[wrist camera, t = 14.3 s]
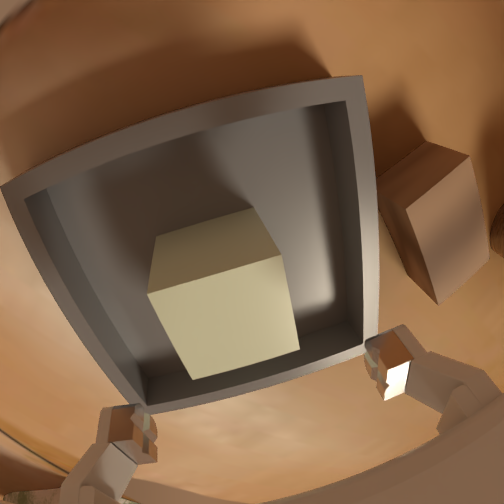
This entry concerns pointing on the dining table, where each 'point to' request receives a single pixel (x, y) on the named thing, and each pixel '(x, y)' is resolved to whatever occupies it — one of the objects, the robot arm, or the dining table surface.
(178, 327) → the sage cube
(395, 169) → the walnut block
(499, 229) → the metal cylinder
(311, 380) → the dining table surface
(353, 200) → the charcoal tray
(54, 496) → the grocery bag
